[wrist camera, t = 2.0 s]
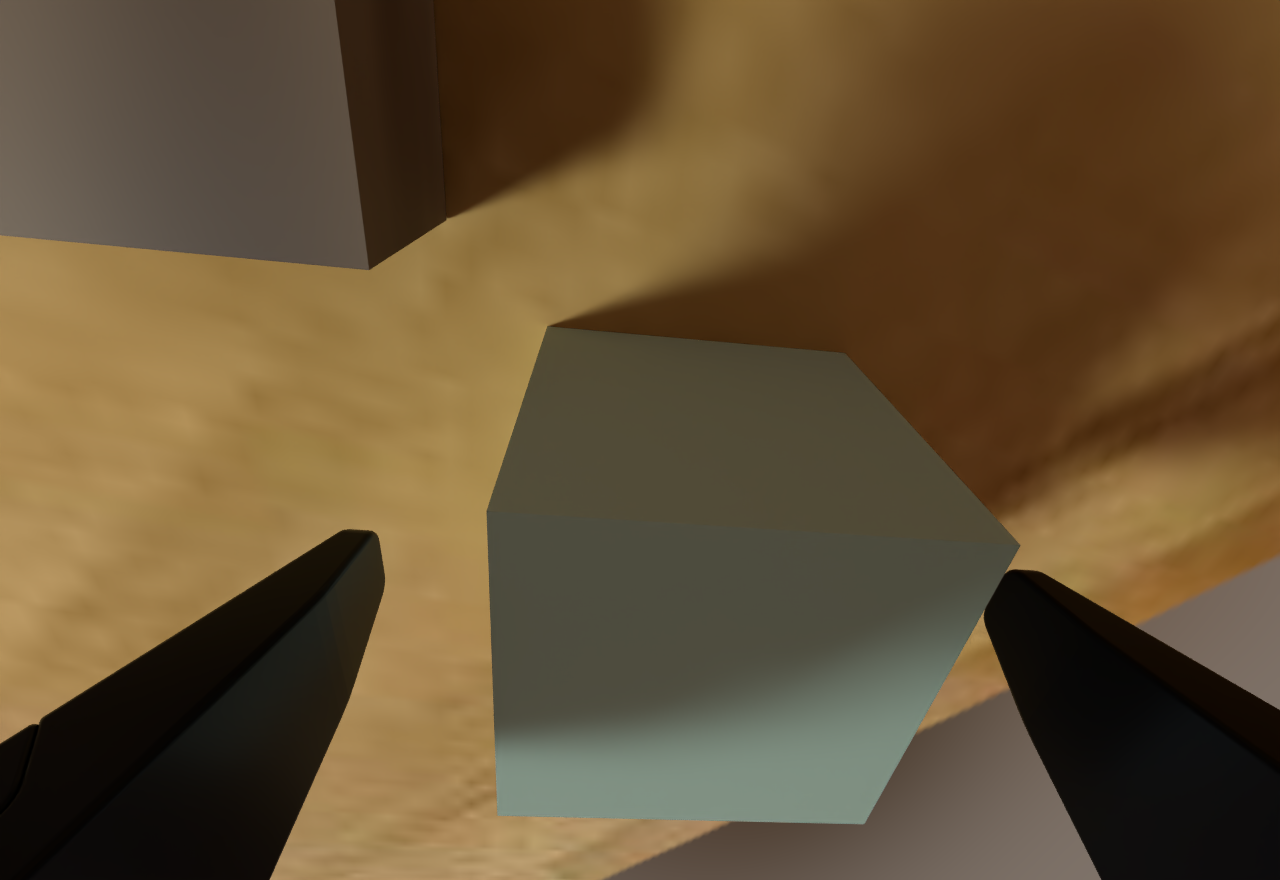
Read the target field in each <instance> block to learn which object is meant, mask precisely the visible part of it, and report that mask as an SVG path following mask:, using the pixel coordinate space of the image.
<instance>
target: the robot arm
mask: <svg viewBox="0 0 1280 880" xmlns="http://www.w3.org/2000/svg"><path fill="white" fill-rule="evenodd" d="M384 586H385V573H384V567H383V561H382V554H381V548H380V542H379V538H378V536H377V534H376V533H375V532H373V531H369V530H353V529H347V530H342V531H340V532H338V533H337V534H335V535H333V536H332V537H330V538H329V539H327V540H325V541H324V542H322V543H321V544H319V545H317V546H316V547H314V548H313V549H311V550H309V551H308V552H306V553H305V554H303V555H301V556H300V557H298V558H297V559H295V560H293V561H292V562H290V563H289V564H287V565H286V566H284V567H282V568H281V569H279V570H278V571H276V572H274V573H273V574H271V575H270V576H268V577H266V578H265V579H263V580H262V581H260V582H258V583H257V584H255V585H254V586H252V587H250V588H249V589H247V590H246V591H244V592H242V593H241V594H239V595H238V596H236V597H234V598H233V599H231V600H230V601H228V602H226V603H225V604H223V605H222V606H220V607H218V608H217V609H215V610H214V611H212V612H210V613H209V614H207V615H206V616H204V617H202V618H201V619H199V620H198V621H196V622H194V623H193V624H191V625H190V626H188V627H186V628H185V629H183V630H182V631H180V632H178V633H177V634H175V635H174V636H172V637H170V638H169V639H167V640H166V641H164V642H162V643H161V644H159V645H158V646H156V647H154V648H153V649H151V650H150V651H148V652H146V653H145V654H143V655H142V656H140V657H138V658H137V659H135V660H134V661H132V662H130V663H129V664H127V665H126V666H124V667H122V668H121V669H119V670H118V671H116V672H114V673H113V674H111V675H110V676H108V677H106V678H105V679H103V680H102V681H100V682H98V683H97V684H95V685H94V686H92V687H90V688H89V689H87V690H86V691H84V692H82V693H81V694H79V695H78V696H76V697H75V698H73V699H71V700H70V701H68V702H67V703H65V704H63V705H62V706H60V707H58V708H57V709H55V710H54V711H52V712H50V713H49V714H47V715H46V716H44V717H43V718H42V719H41V720H40V722H39V725H37V724H32V725H29V726H28V727H26V728H24V729H23V730H21V731H20V732H18V733H17V734H15V735H13V736H12V737H10V738H9V739H7V740H5V741H4V742H2V743H1V744H0V880H270V878H271V875H272V873H273V871H274V869H275V866H276V864H277V862H278V860H279V857H280V855H281V853H282V851H283V848H284V846H285V844H286V842H287V839H288V837H289V835H290V833H291V830H292V828H293V826H294V824H295V821H296V819H297V817H298V815H299V812H300V810H301V808H302V806H303V803H304V801H305V799H306V797H307V794H308V792H309V790H310V788H311V785H312V783H313V781H314V779H315V776H316V774H317V772H318V770H319V767H320V765H321V763H322V761H323V758H324V756H325V754H326V752H327V749H328V747H329V745H330V743H331V740H332V738H333V736H334V734H335V731H336V729H337V727H338V724H339V722H340V720H341V718H342V715H343V713H344V710H345V708H346V706H347V703H348V701H349V698H350V695H351V692H352V689H353V687H354V684H355V681H356V678H357V674H358V671H359V668H360V665H361V662H362V659H363V655H364V652H365V649H366V646H367V643H368V640H369V636H370V633H371V630H372V627H373V624H374V621H375V618H376V614H377V611H378V608H379V605H380V602H381V599H382V595H383V592H384ZM984 622H985V626H986V629H987V632H988V634H989V637H990V639H991V642H992V644H993V647H994V650H995V652H996V655H997V657H998V660H999V662H1000V665H1001V668H1002V670H1003V673H1004V675H1005V678H1006V680H1007V683H1008V685H1009V688H1010V691H1011V693H1012V696H1013V698H1014V701H1015V703H1016V706H1017V708H1018V711H1019V713H1020V716H1021V718H1022V720H1023V723H1024V725H1025V727H1026V729H1027V731H1028V734H1029V736H1030V737H1031V740H1032V742H1033V744H1034V746H1035V748H1036V750H1037V752H1038V754H1039V756H1040V758H1041V760H1042V762H1043V764H1044V766H1045V768H1046V770H1047V772H1048V774H1049V776H1050V778H1051V780H1052V782H1053V784H1054V786H1055V788H1056V790H1057V792H1058V794H1059V796H1060V798H1061V800H1062V802H1063V804H1064V806H1065V808H1066V810H1067V812H1068V814H1069V816H1070V818H1071V820H1072V822H1073V824H1074V826H1075V828H1076V830H1077V832H1078V834H1079V836H1080V838H1081V840H1082V842H1083V844H1084V846H1085V848H1086V850H1087V852H1088V854H1089V856H1090V858H1091V860H1092V862H1093V864H1094V866H1095V868H1096V870H1097V872H1098V874H1099V876H1100V878H1101V880H1280V710H1279V709H1277V708H1275V707H1274V706H1272V705H1270V704H1269V703H1267V702H1265V701H1263V700H1262V699H1260V698H1258V697H1256V696H1255V695H1253V694H1251V693H1250V692H1248V691H1246V690H1244V689H1242V688H1241V687H1239V686H1237V685H1236V684H1234V683H1232V682H1230V681H1229V680H1227V679H1225V678H1224V677H1222V676H1220V675H1218V674H1217V673H1215V672H1213V671H1211V670H1210V669H1208V668H1206V667H1205V666H1203V665H1201V664H1199V663H1198V662H1196V661H1194V660H1192V659H1191V658H1189V657H1187V656H1186V655H1184V654H1182V653H1180V652H1178V651H1177V650H1175V649H1174V648H1172V647H1170V646H1168V645H1167V644H1165V643H1163V642H1161V641H1160V640H1158V639H1156V638H1155V637H1153V636H1151V635H1149V634H1147V633H1146V632H1144V631H1142V630H1141V629H1139V628H1137V627H1136V626H1134V625H1132V624H1130V623H1129V622H1127V621H1125V620H1123V619H1122V618H1120V617H1118V616H1117V615H1115V614H1113V613H1111V612H1110V611H1108V610H1106V609H1104V608H1103V607H1101V606H1099V605H1098V604H1096V603H1094V602H1092V601H1091V600H1089V599H1087V598H1085V597H1084V596H1082V595H1080V594H1079V593H1077V592H1075V591H1073V590H1072V589H1070V588H1068V587H1066V586H1065V585H1063V584H1061V583H1060V582H1058V581H1056V580H1054V579H1053V578H1051V577H1049V576H1047V575H1046V574H1044V573H1042V572H1039V571H1034V570H1017V569H1014V570H1009V571H1008V572H1007V573H1005V574H1004V576H1003V577H1002V579H1001V581H1000V583H999V585H998V586H997V588H996V590H995V592H994V594H993V595H992V597H991V599H990V601H989V602H988V604H987V606H986V608H985V611H984Z"/></svg>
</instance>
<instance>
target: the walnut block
mask: <svg viewBox="0 0 1280 880" xmlns="http://www.w3.org/2000/svg"><path fill="white" fill-rule="evenodd" d="M444 221H446V205H445V188H444V171H443V155H442V138H441V122H440V105H439V89H438V72H437V55H436V39H435V22H434V6H433V0H0V235H4V236H15V237H25V238H36V239H46V240H57V241H68V242H78V243H89V244H99V245H110V246H120V247H131V248H142V249H152V250H163V251H173V252H184V253H194V254H205V255H216V256H226V257H237V258H247V259H258V260H268V261H279V262H290V263H300V264H311V265H321V266H332V267H343V268H353V269H364V270H370V269H371V268H373V267H375V266H376V265H378V264H379V263H381V262H382V261H384V260H385V259H387V258H388V257H390V256H392V255H393V254H395V253H396V252H398V251H399V250H401V249H402V248H404V247H406V246H407V245H409V244H410V243H412V242H413V241H415V240H416V239H418V238H419V237H421V236H423V235H424V234H426V233H427V232H429V231H430V230H432V229H433V228H435V227H436V226H438V225H440V224H441V223H443V222H444Z"/></svg>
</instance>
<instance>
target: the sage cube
mask: <svg viewBox="0 0 1280 880" xmlns="http://www.w3.org/2000/svg"><path fill="white" fill-rule="evenodd" d="M487 535H488V563H489V591H490V619H491V646H492V674H493V702H494V730H495V757H496V785H497V813H498V816H535V817H578V818H622V819H665V820H708V821H751V822H796V823H838V824H841V823H842V824H865V822H866V820H867V818H868V816H869V815H870V813H871V811H872V809H873V808H874V806H875V804H876V802H877V800H878V799H879V797H880V795H881V793H882V791H883V790H884V788H885V786H886V784H887V783H888V781H889V779H890V777H891V775H892V774H893V772H894V770H895V768H896V766H897V765H898V763H899V761H900V759H901V758H902V756H903V754H904V752H905V750H906V749H907V747H908V745H909V743H910V741H911V740H912V738H913V736H914V734H915V733H916V731H917V729H918V727H919V725H920V724H921V722H922V720H923V718H924V717H925V715H926V713H927V711H928V709H929V708H930V706H931V704H932V702H933V701H934V699H935V697H936V695H937V693H938V692H939V690H940V688H941V686H942V684H943V683H944V681H945V679H946V677H947V676H948V674H949V672H950V670H951V668H952V667H953V665H954V663H955V661H956V659H957V658H958V656H959V654H960V652H961V651H962V649H963V647H964V645H965V643H966V642H967V640H968V638H969V636H970V635H971V633H972V631H973V629H974V627H975V626H976V624H977V622H978V620H979V618H980V617H981V615H982V613H983V611H984V610H985V608H986V606H987V604H988V602H989V601H990V599H991V597H992V595H993V594H994V592H995V590H996V588H997V586H998V585H999V583H1000V581H1001V579H1002V577H1003V576H1004V574H1005V572H1006V570H1007V569H1008V567H1009V565H1010V563H1011V561H1012V560H1013V558H1014V556H1015V554H1016V552H1017V551H1018V549H1019V547H1020V544H1019V543H1018V542H1017V541H1016V540H1015V539H1014V538H1013V536H1012V535H1011V534H1010V533H1009V532H1008V531H1007V530H1006V529H1005V528H1004V527H1003V525H1002V524H1001V523H1000V522H999V521H998V520H997V519H996V518H995V517H994V516H993V515H992V513H991V512H990V511H989V510H988V509H987V508H986V507H985V506H984V505H983V504H982V502H981V501H980V500H979V499H978V498H977V497H976V496H975V495H974V494H973V493H972V491H971V490H970V489H969V488H968V487H967V486H966V485H965V484H964V483H963V482H962V481H961V479H960V478H959V477H958V476H957V475H956V474H955V473H954V472H953V471H952V470H951V468H950V467H949V466H948V465H947V464H946V463H945V462H944V461H943V460H942V459H941V458H940V456H939V455H938V454H937V453H936V452H935V451H934V450H933V449H932V448H931V447H930V445H929V444H928V443H927V442H926V441H925V440H924V439H923V438H922V437H921V436H920V435H919V433H918V432H917V431H916V430H915V429H914V428H913V427H912V426H911V425H910V424H909V422H908V421H907V420H906V419H905V418H904V417H903V416H902V415H901V414H900V413H899V412H898V410H897V409H896V408H895V407H894V406H893V405H892V404H891V403H890V402H889V401H888V399H887V398H886V397H885V396H884V395H883V394H882V393H881V392H880V391H879V390H878V389H877V387H876V386H875V385H874V384H873V383H872V382H871V381H870V380H869V379H868V378H867V376H866V375H865V374H864V373H863V372H862V371H861V370H860V369H859V368H858V367H857V366H856V364H855V363H854V362H853V361H852V360H851V359H850V358H849V357H848V356H847V355H846V353H839V352H828V351H817V350H806V349H795V348H783V347H772V346H761V345H750V344H739V343H728V342H717V341H705V340H694V339H683V338H672V337H661V336H650V335H639V334H627V333H616V332H605V331H594V330H583V329H572V328H560V327H549V326H547V329H546V332H545V335H544V338H543V341H542V344H541V347H540V350H539V353H538V356H537V360H536V363H535V366H534V369H533V372H532V375H531V378H530V381H529V384H528V387H527V390H526V393H525V396H524V399H523V402H522V405H521V408H520V411H519V414H518V417H517V420H516V423H515V426H514V429H513V432H512V436H511V439H510V442H509V445H508V448H507V451H506V454H505V457H504V460H503V463H502V466H501V469H500V472H499V475H498V478H497V481H496V484H495V487H494V490H493V493H492V496H491V499H490V502H489V505H488V508H487Z"/></svg>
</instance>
